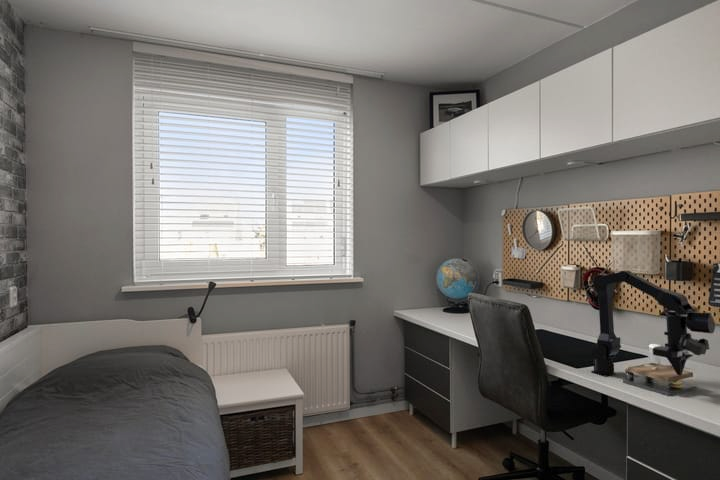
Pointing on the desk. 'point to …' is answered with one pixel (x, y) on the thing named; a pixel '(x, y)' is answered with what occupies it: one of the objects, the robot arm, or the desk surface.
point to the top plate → (658, 372)
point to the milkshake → (653, 357)
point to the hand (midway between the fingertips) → (679, 374)
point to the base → (658, 384)
